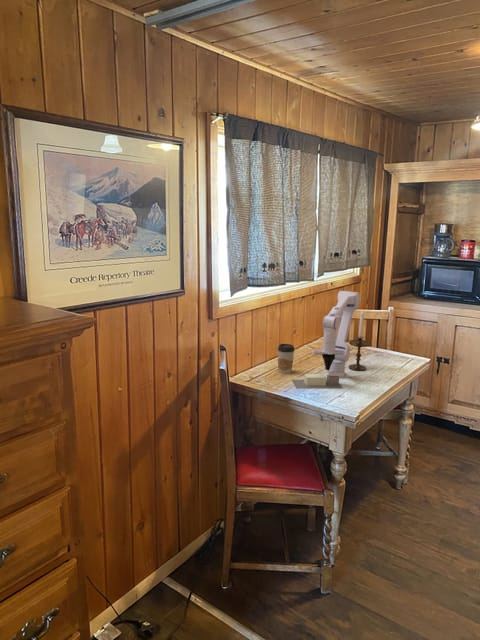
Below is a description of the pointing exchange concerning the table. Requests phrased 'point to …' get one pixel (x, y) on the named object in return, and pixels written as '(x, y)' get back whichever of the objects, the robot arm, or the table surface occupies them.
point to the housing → (331, 383)
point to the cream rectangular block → (315, 380)
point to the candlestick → (359, 345)
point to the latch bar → (336, 373)
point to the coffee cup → (285, 358)
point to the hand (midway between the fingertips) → (327, 369)
